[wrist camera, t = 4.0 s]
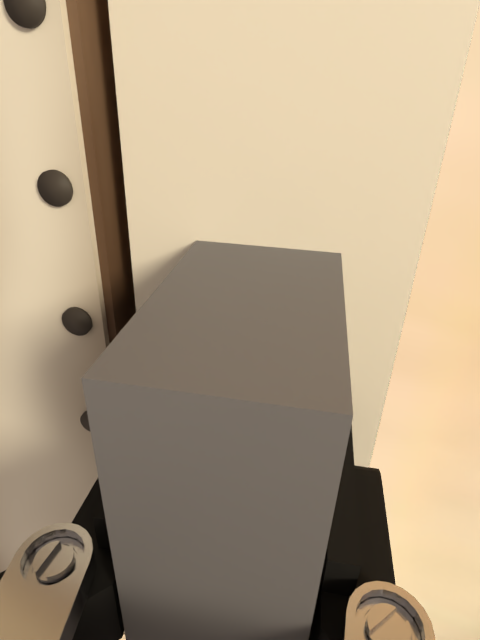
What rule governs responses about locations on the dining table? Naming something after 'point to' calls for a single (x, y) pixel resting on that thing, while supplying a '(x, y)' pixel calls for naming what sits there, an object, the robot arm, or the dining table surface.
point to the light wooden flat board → (56, 253)
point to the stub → (259, 288)
